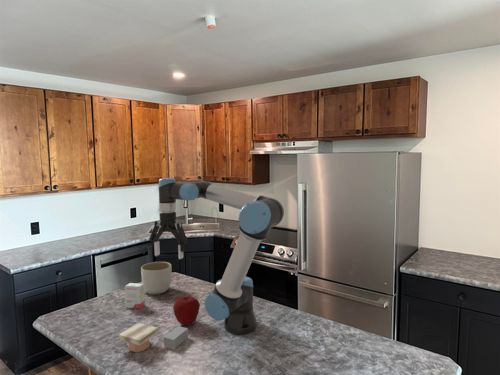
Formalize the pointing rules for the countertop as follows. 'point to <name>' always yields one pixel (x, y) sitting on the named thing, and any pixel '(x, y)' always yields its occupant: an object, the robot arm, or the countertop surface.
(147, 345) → the bowl
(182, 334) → the grey rectangular block
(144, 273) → the planter
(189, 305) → the apple
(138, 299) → the ink box
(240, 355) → the countertop surface
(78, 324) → the countertop surface
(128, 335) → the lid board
